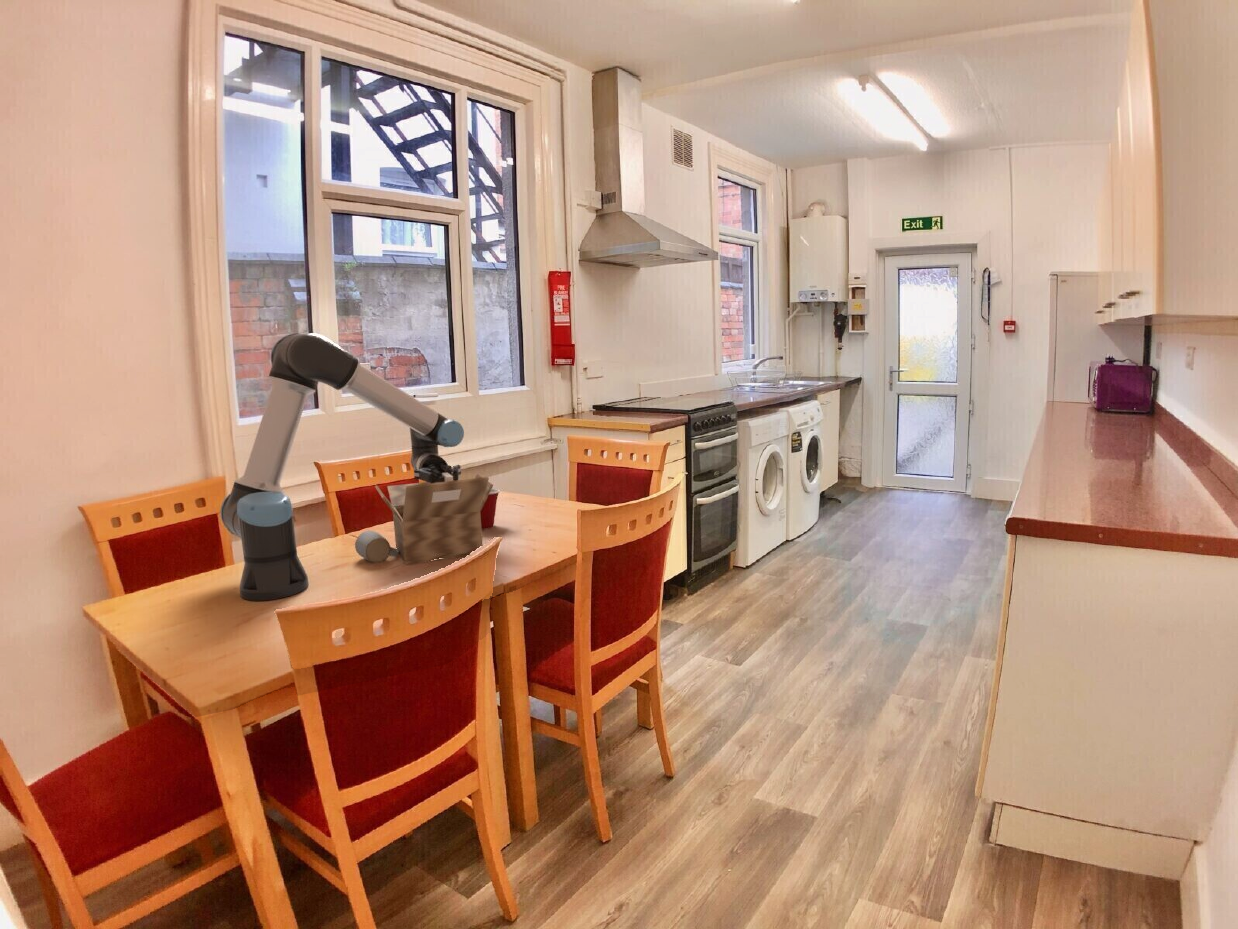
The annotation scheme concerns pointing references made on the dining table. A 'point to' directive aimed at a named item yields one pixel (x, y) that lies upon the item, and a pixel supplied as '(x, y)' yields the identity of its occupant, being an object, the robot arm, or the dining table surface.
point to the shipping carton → (433, 530)
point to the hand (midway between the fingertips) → (450, 482)
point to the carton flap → (444, 498)
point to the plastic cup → (489, 509)
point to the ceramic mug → (374, 547)
